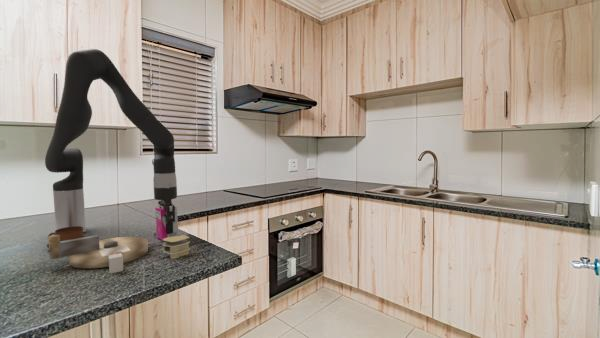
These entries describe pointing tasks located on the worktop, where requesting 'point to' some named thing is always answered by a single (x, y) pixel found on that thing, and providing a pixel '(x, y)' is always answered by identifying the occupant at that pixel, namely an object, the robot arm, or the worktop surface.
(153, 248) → the worktop surface
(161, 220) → the supplement box
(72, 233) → the cup and saucer
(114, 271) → the white block
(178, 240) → the beige layered block
